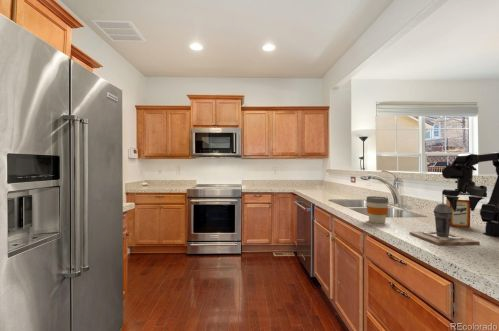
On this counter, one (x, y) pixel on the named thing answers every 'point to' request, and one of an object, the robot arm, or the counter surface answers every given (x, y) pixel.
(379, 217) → the reusable coffee cup
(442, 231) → the beverage cup
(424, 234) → the base board
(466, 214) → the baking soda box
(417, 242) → the counter surface
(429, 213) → the counter surface
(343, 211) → the counter surface
